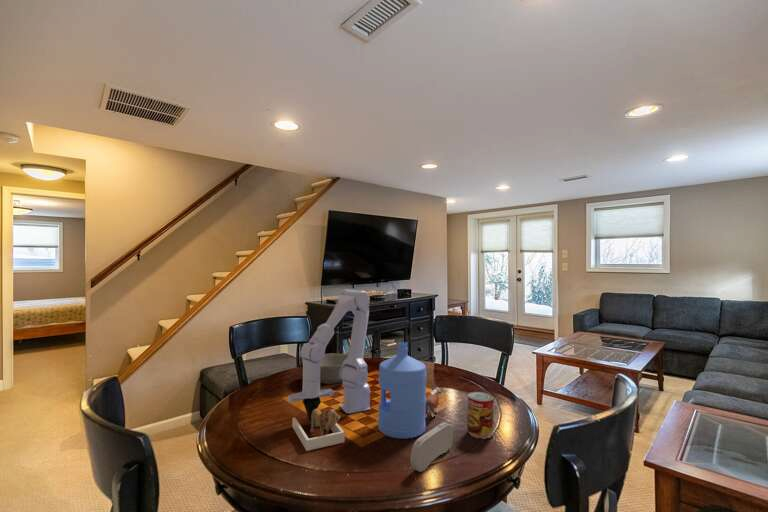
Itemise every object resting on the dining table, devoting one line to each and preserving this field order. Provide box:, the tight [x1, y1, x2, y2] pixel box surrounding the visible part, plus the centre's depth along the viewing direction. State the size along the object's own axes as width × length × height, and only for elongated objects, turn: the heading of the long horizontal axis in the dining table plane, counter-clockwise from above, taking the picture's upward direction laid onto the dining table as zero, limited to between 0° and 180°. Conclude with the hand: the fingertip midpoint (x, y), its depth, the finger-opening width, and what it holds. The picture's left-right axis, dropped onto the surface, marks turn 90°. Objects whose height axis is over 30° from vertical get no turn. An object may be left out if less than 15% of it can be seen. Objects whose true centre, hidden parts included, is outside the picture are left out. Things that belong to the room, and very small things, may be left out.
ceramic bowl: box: [320, 352, 349, 385], centre depth 165 cm, size 22×23×10 cm
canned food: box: [467, 391, 494, 435], centre depth 116 cm, size 8×8×12 cm
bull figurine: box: [425, 387, 443, 419], centre depth 130 cm, size 4×13×8 cm, turn 155°
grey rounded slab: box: [409, 421, 454, 473], centre depth 100 cm, size 20×2×8 cm, turn 141°
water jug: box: [377, 341, 427, 440], centre depth 119 cm, size 16×16×28 cm
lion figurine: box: [306, 408, 341, 436], centre depth 114 cm, size 15×5×9 cm, turn 48°
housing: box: [292, 417, 346, 452], centre depth 113 cm, size 12×17×3 cm
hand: (310, 420), depth 120 cm, fingers closed, pressing on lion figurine
